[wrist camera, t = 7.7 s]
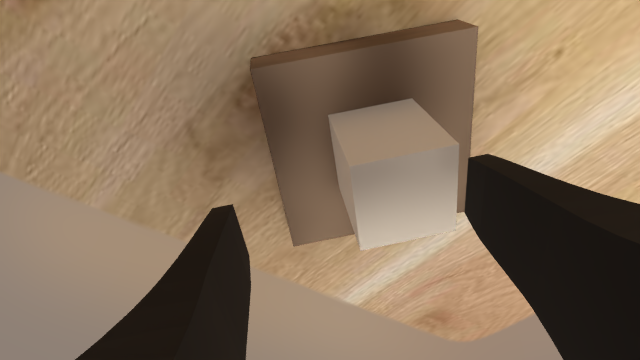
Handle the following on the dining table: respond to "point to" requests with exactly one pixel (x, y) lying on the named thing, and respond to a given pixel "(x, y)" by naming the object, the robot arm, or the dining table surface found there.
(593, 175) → the dining table surface
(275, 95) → the walnut plinth
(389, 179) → the off-white block
